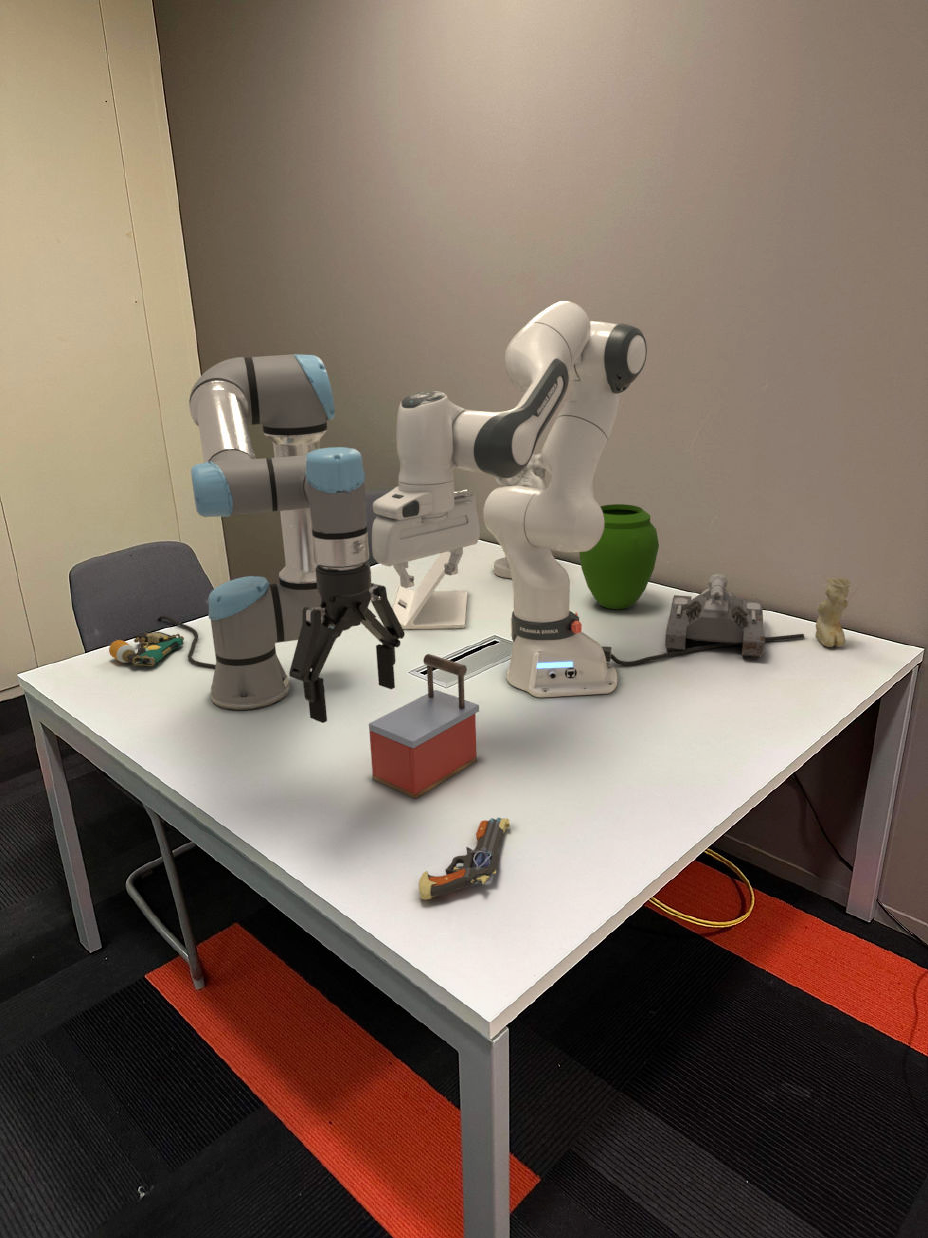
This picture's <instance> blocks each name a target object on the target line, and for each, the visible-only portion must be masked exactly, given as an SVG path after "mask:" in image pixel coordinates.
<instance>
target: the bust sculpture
mask: <svg viewBox="0 0 928 1238" xmlns="http://www.w3.org/2000/svg"><path fill="white" fill-rule="evenodd" d="M546 471H547V470H546V469H545V467H544V465H543V463H542V459H541V452H539V453H537V454H535V453H533V455H532V457H531V459H530V461H529V463H528V464H527V466H526V467H525V468H524V469H523V470H522V471H521V472H520V473H518V474H517V475H516V476H514V477H511V478H501V477H497V476H494V480H495V482H496V484H497V486H498V487H507V486H525V487H532V488H538V489H547V487H546V485H547V482H546ZM493 573H494V574H495V575H496V576H497V577H500V578H506V579H512V574H511V570H510V566H509V563H508V561H507V558H506V556H505V555H504V557H502V558H498V559H496V560H495V561H494V562H493Z"/></svg>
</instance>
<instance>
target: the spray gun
mask: <svg viewBox="0 0 928 1238" xmlns="http://www.w3.org/2000/svg"><path fill="white" fill-rule="evenodd" d="M134 637H135V638H134V639H133V642H134V643H139V648H137V652H136V650H135V648H134V647H133V646H132V645H131V644H129V643H128V642H126V641H125V640H122V639H117V640H115V641H113V642H111V643H110V645H109V647H108V652H109V655H110V656H111V657H112V658H113V659H114V660H116V661H118V662H120V663H123V664H129V663H131V664H132V665H134V666H144V667H145V666H146V667H153V666H155V665H156V664H157V663H158V662H160V661H161V660H162V659H164V657H165V656H167V655H168V654H170V653H171V652H173V650H175V649H179V648H180V647H181V646H183V645H184V640H185V637H184V636H183V635H180V633H176V634H172V635H171V634H169V633H165V632H162V631H153V632H152V631H151V632H143V633H142V632H141V633H137V634H136V635H135V636H134ZM152 643H154V644H152ZM149 644H152V645H149Z"/></svg>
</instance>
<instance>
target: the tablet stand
mask: <svg viewBox="0 0 928 1238" xmlns="http://www.w3.org/2000/svg"><path fill="white" fill-rule="evenodd" d="M450 555H451V553H450V552H449V551H447V552H443V553H439V554H438V556H437V558H436V559H435V561H434V562H433V564H432V565H431V567H430V568H429V569H428V571H427V573H426V574H425V575H424V577H423V579H422V580H421V581H420V583H419V584H418V585H417V587H416V589H415V590H412V589H410V588H404V587H402V586H401V584H400V585H399V586H398V589H397V591H396V595H395V598H394V601H393V604H392V606H391V607H392V609H393V611H394V613H395V615H396V617H397V619H398V621H399V623H400V625H401V627H402V629H403V630H426V629H427V630H429V629H430V630H431V629H435V630H436V629H437V630H438V629H464V628H465V627H466V618H467V617H466V616H467V605H468V591H467V590H436V589H437V587H438V585H440V582H441V581H442V580H443V578H444V577H445V575H446V574H445V568H444V564H446V563H448V561H449V558H450ZM399 603H400V604H399ZM402 605H403V606H405V607H403V606H402Z"/></svg>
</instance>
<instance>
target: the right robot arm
mask: <svg viewBox="0 0 928 1238" xmlns="http://www.w3.org/2000/svg"><path fill="white" fill-rule="evenodd" d="M588 315H589V314H587V312H586V311H585V310H584V308H583V307H581V306H580V305H578V304H577V303H575V302H573V301H569V300H562V301H557V302H554V303H553V304H551V305H549V306H547V307H546V308H545V309H543V310H541V311H540V312H539V313H537V314H536V315H535V316H534V317H533V318H531V319H530V320H529V321H528V322H527V323H526V324H525V325H524V326H523V327H522V328H521V329H520V330H519V331H518V332H517V333H516V334H515V335H514V336H513V337H512V339H511V340H510V342H509V343H508V345H507V347H506V349H505V352H504V368H505V372H506V375H507V376H508V378H509V380H510V382H511V383H512V385H513V386H514V387H515V388H516V389H517V391H519V392H520V393H522V394H523V396H522V397H521V399H520V400H519V402H518V403H517V405H516V406H515V407H514V408H512V409H508V410H505V411H484V410H483V411H482V410H475V409H474V410H473V409H466V408H464V407H461V406H459V405H457V404H455V403H453V402H452V401H451V400H450V399H449V397H448V395H447V394H446V393H445V392H442V391H439V390H438V391H436V390H426V391H422V392H414V393H412V394H410V395H407V396H405V398H403V399H402V400H401V401H400V402H399V406H398V410H397V416H396V417H397V418H396V435H395V436H396V455H397V457H398V460H399V473H398V478H397V479H398V482H397V483H398V485H397V486H395V487H394V488H393V489H391V490H390V491H388V492H387V493H385V494H384V495H381V497H379V498H377V499H375V500H374V501H373V503H372V511H373V513H374V515H377V516H376V517H375V518H374V520H373V523H372V528H371V549H372V550H371V553H372V558H373V559H374V560H375V562H376V563H377V564H379V565H382V566H386V567H393V568H394V570H395V572H396V573H397V574H398V576H399V581H400V582H399V583H400V585H401V586H402V587H404V588H408V589H410V588H411V587H414V586H415V582H414V581H415V577H414V575H410V574H409V572H408V571H407V569H408V568H409V562H412V561H416V560H421V559H424V558H427V557H432V556H436V555H440V553H443V552H447V551H449V552H450V553H451V555H450V558H449V561H448V563H446V564H444V568H445V575H447V576H449V577H450V576H454V575H457V574H458V573H459V563H460V561H461V559H462V557H463V554H464V548H466V547H469V546H473V545H477V544H478V542H479V540H480V537H481V530H480V529H481V528H480V519H479V514H478V509H477V500H476V499H477V498H476V496H475V494H474V493H473V492H471V491H470V490H469V489H463V490H459V491H455V474H454V472H453V470H454V469H457V470H462V471H468V472H473V473H481V474H487V475H490V476H494V477H495V476H497V477H501V478H511V477H514V476H516V475H517V474H518V473H520V472H521V471H522V470H523V469H524V468H525V467H526V466H527V464H528V463H529V461H530V459H531V457H532V455H533V454H534V452H535V448H536V446H537V443H538V441H539V439H540V438H541V436H542V435H543V432H544V431H545V429H546V428H547V426H548V424H549V422H550V421H551V420H552V418H553V416H554V415H555V413H556V411H557V409H558V408H559V406H560V404H561V403H562V401H563V399H564V397H565V395H566V393H567V390H568V388H569V382H570V381H571V382H573V383H572V390H571V392H570V393H569V395H568V396H567V397H566V400H565V401H564V403H563V405H562V406H561V408H560V410H559V412H558V414H557V416H556V418H555V420H554V422H553V424H552V427H551V429H550V431H549V433H548V435H547V437H546V439H545V442H544V444H543V447H542V448H541V451H540V453H541V459H542V463H543V465H544V467H545V469H546V471H547V473H548V474H549V475H550V476H551V478H550V481H549V485H548V487H546V489H538V488H532V487H525V486H507V487H502V486H499V487H497V488H495V489H493V490H492V491H491V492H490V493H489V494H488V496H487V498H486V499H485V502H484V505H483V509H482V519H483V522H484V525H485V528H486V529H487V531H488V532H489V533H490V534H491V535H492V536H493V537H494V538H495V540H496V541H497V542H498V545H500V547H501V549H502V551H503V553H504V557H505V556H506V558H507V561H508V563H509V566H510V570H511V574H512V578H511V579H512V594H513V596H512V597H513V611H512V612H511V618H510V635H511V640H512V645H511V646H512V647H511V655H510V660H509V665H508V669H507V672H506V675H505V678H506V681H507V683H509V684H510V685H511V686H513V687H515V688H517V689H519V690H522V691H525V692H527V693H529V694H530V695H531V696H533V697H535V698H556V697H572V696H573V697H574V696H588V695H589V696H590V695H591V696H592V695H607V694H611V693H612V692H613V691H615V690H616V688H617V686H618V673H617V670H616V668H615V667H614V666H613V665H612V664H611V661H613V662H614V663H615V664H617V665H619V666H624V667H632V666H639V665H642V664H644V663H648V662H652V661H657V660H663V659H667V658H670V657H671V658H672V657H674V656H680V655H684V654H689V653H693V652H694V653H695V652H699V651H705V650H711V649H717V648H723V647H731V646H737V645H738V646H739V645H742V642H741V643H722V642H714V643H709V644H704V645H698V646H692V647H687V648H685V649H684V650H678V651H668V652H665V653H660V654H655V655H651V656H646V657H643V658H640V659H637V660H632V661H626V660H625V661H624V660H620V659H619V658H618V657H616V656H615V655H614V654H613V653H612V646H602V645H601V644H600V643H599V642H598V641H596V640H595V639H593V638H591V637H590V636H589V635H587V634H586V633H585V632H583V631H582V630H583V626H582V625H583V624H582V622H581V621H580V616H579V615H578V612H577V611H575V613H574V612H573V611H571V610H570V590H571V589H570V586H571V585H570V584H571V581H570V580H571V579H570V576H569V574H568V573H569V572H567V570H566V568H565V567H563V565H562V564H560V563H559V562H558V561H557V559H556V558H555V557H554V554H553V552H552V551H557V552H561V553H579V552H584V551H589V550H591V549H592V548H593V547H594V546H595V545H596V544H597V543H598V542H599V540H600V538H601V536H602V534H603V531H604V524H605V522H604V515H603V512H602V509H601V507H600V504H599V503H598V502H597V499H596V498H595V493H594V479H595V478H594V477H595V476H596V475H595V474H596V471H597V468H598V466H599V463H600V460H601V458H602V456H603V453H604V450H605V448H606V446H607V444H608V441H609V440H610V437H611V434H612V432H613V429H614V427H615V423H616V419H617V417H618V416H617V415H618V412H619V406H620V395H619V394H621V393H623V392H625V391H627V389H628V388H629V387H630V386H631V384H632V383H633V382H634V381H635V380H636V379H637V378H638V377H639V375H640V374H641V373H642V371H643V369H644V367H645V364H646V360H647V354H648V347H647V342H646V338H645V336H644V334H643V331H642V330H641V329H640V328H639V327H636V326H633V325H630V324H626V323H622V322H621V323H612V322H605V321H593V320H591V319H590V317H589V316H588ZM804 638H805V633H797V634H796V633H795V634H788V635H787V634H786V635H777V636H767V637H764V643H765V642H766V643H767V642H775V641H776V642H777V641H785V640H786V641H787V640H797V639H804Z"/></svg>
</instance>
